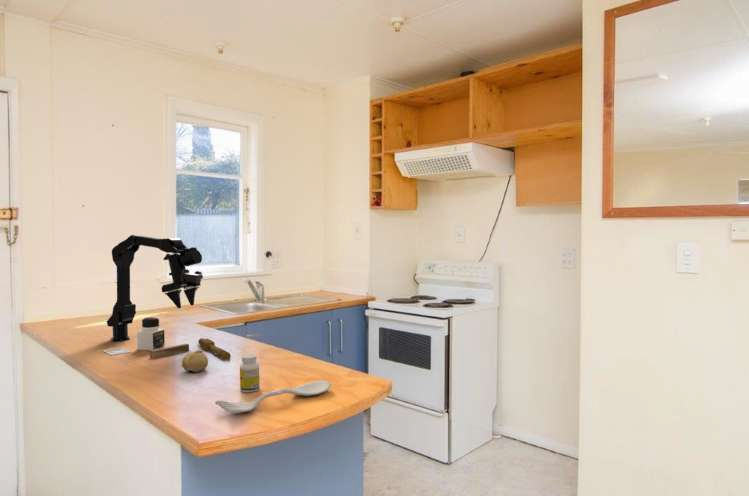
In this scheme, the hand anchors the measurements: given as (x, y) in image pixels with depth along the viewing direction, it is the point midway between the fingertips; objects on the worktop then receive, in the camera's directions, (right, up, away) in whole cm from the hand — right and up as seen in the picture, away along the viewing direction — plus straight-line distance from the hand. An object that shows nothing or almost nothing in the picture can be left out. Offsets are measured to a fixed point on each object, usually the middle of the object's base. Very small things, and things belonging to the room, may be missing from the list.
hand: (186, 306), depth 199 cm
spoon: (+50, -18, -67) cm, 86 cm away
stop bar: (0, -16, -15) cm, 22 cm away
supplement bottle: (+40, -17, -57) cm, 72 cm away
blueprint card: (-22, -16, -11) cm, 29 cm away
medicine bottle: (-11, -16, -6) cm, 20 cm away
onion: (+17, -17, -37) cm, 44 cm away
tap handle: (+15, -16, -12) cm, 25 cm away
